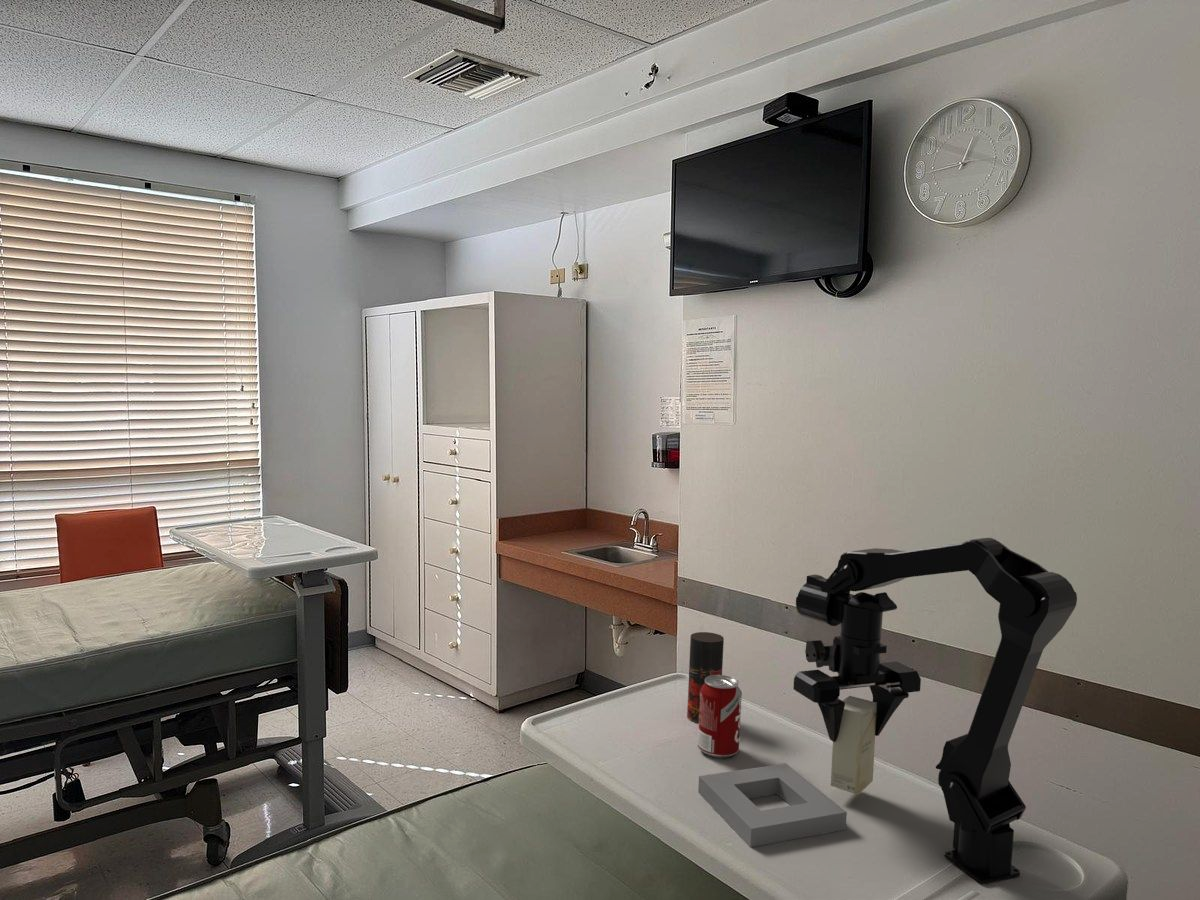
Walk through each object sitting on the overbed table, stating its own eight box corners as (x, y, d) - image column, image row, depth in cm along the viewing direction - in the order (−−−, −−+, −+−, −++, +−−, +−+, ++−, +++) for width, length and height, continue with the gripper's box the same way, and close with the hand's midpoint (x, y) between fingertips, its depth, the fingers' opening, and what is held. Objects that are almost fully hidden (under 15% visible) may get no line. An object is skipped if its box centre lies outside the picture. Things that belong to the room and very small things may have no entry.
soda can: (707, 762, 131) (710, 689, 131) (691, 744, 138) (694, 674, 137) (745, 758, 133) (749, 686, 132) (728, 740, 140) (731, 672, 139)
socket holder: (845, 829, 113) (846, 812, 113) (750, 847, 108) (751, 828, 107) (785, 778, 127) (786, 763, 127) (698, 792, 122) (699, 776, 121)
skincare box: (858, 796, 118) (863, 714, 117) (828, 786, 121) (833, 706, 120) (873, 780, 123) (878, 702, 122) (845, 771, 126) (849, 694, 125)
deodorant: (683, 711, 152) (687, 632, 151) (715, 710, 152) (719, 632, 151) (690, 724, 146) (694, 642, 145) (723, 724, 147) (727, 642, 145)
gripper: (876, 615, 131) (870, 710, 132) (775, 623, 124) (770, 722, 126) (926, 636, 120) (919, 739, 122) (819, 646, 114) (813, 754, 115)
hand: (854, 737), depth 121 cm, fingers closed on skincare box, 7 cm apart
